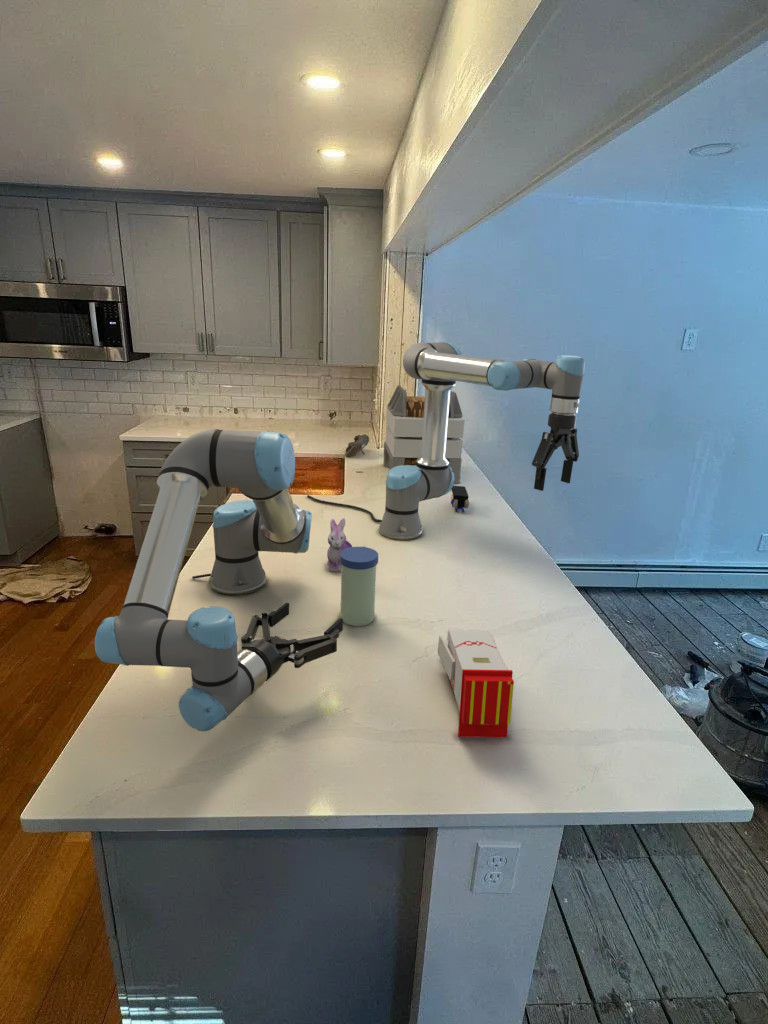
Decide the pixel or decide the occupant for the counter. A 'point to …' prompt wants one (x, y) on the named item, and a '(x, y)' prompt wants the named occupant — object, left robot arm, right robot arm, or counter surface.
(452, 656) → the toy
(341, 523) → the figurine
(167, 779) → the counter surface
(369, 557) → the lid
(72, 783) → the counter surface
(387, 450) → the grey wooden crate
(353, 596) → the jar
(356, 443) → the grey animal figure
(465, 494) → the figurine character
